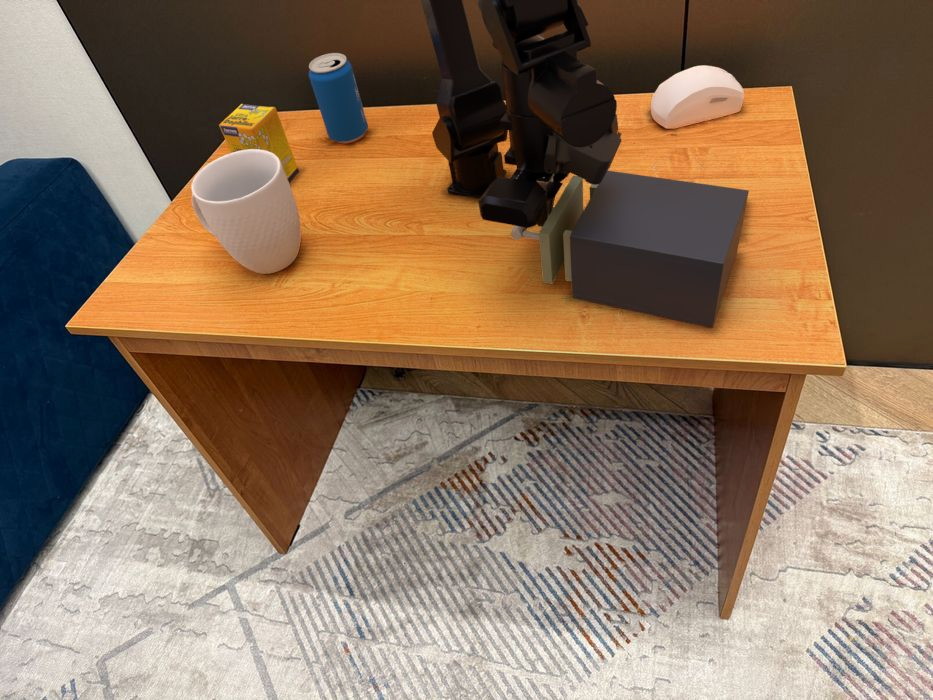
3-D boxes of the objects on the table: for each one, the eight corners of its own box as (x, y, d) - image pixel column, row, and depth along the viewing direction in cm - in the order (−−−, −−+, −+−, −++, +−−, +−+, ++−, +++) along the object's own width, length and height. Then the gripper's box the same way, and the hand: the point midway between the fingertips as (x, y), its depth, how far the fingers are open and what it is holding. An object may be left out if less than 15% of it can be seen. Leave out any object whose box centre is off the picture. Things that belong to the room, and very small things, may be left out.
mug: (193, 274, 92) (146, 193, 83) (239, 223, 99) (200, 142, 89) (286, 292, 87) (247, 207, 78) (329, 236, 94) (297, 152, 84)
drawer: (505, 274, 82) (499, 225, 77) (539, 218, 88) (535, 169, 83) (668, 308, 75) (673, 257, 70) (693, 245, 81) (699, 193, 76)
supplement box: (246, 190, 104) (217, 125, 96) (268, 167, 108) (241, 102, 100) (279, 195, 102) (252, 128, 94) (300, 171, 106) (275, 105, 98)
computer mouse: (747, 111, 99) (755, 69, 94) (660, 133, 99) (663, 91, 94) (727, 90, 103) (733, 49, 99) (643, 111, 103) (645, 70, 98)
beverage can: (366, 143, 108) (346, 69, 99) (326, 148, 109) (302, 75, 100) (371, 121, 113) (351, 49, 104) (332, 126, 113) (309, 54, 104)
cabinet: (572, 297, 79) (569, 235, 73) (605, 232, 86) (605, 169, 79) (712, 328, 73) (723, 263, 67) (736, 255, 80) (749, 190, 73)
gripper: (578, 165, 62) (582, 292, 73) (640, 63, 72) (635, 189, 83) (466, 149, 66) (486, 271, 77) (540, 55, 76) (548, 176, 88)
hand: (543, 225), depth 81 cm, fingers closed
